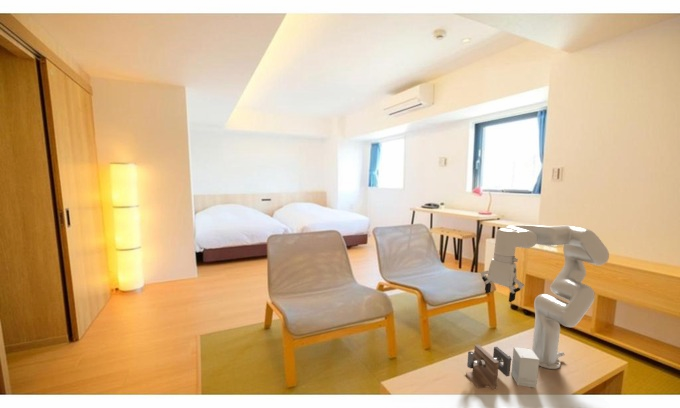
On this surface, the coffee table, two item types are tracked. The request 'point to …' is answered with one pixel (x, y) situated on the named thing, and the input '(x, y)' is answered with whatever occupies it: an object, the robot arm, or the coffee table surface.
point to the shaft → (472, 363)
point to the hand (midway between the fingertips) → (499, 296)
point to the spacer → (506, 364)
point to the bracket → (484, 370)
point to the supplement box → (525, 367)
